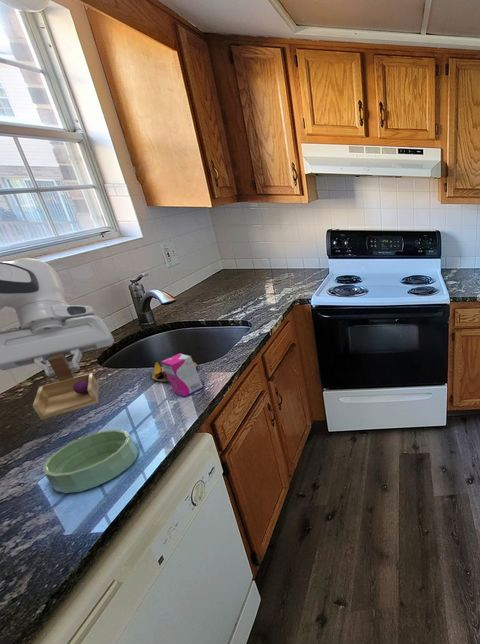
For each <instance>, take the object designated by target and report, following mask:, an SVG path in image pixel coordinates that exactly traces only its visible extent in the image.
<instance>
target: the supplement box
mask: <svg viewBox="0 0 480 644" xmlns="http://www.w3.org/2000/svg"><path fill="white" fill-rule="evenodd" d="M193 362H194V361H193V358H192V356H191V355H187V354H183V353H177V354H175V355H172V356H171V357H168V358H166V359H163V360H161V361H160V364H161V367H163V368H164V371H165V373H166V375H167V377H168V380H169V384H170V386H171V389H172V391H173V393H174V394H175V395H177V396H180V397H183V398H187V397H190V396H191V395H194V394H195V393H197V392H199V391H201V390H203V389H204V385H203V383H202V380H201V377H200V376H199V373H198V371H197V367H196V368H195V366H194V363H195V362H194V363H193Z"/></svg>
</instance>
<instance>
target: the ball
mask: <svg viewBox="0 0 480 644" xmlns="http://www.w3.org/2000/svg"><path fill="white" fill-rule="evenodd" d="M87 389H88V381H79V382H77V383H76V384H75V385H74V386H73V390H74V391H75V392H76V393H78V394H85V393H87V392H88V391H87Z"/></svg>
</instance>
